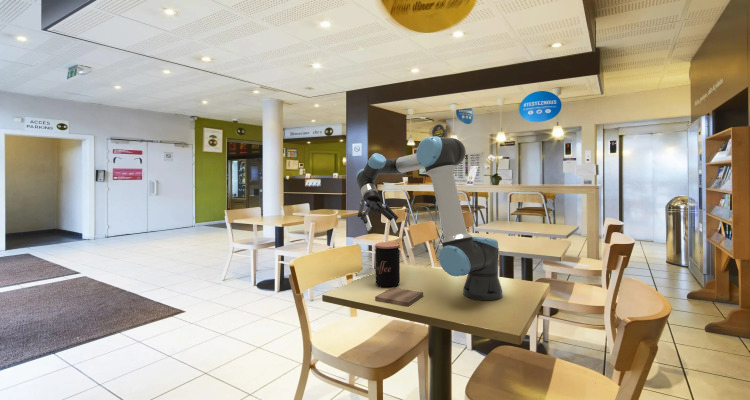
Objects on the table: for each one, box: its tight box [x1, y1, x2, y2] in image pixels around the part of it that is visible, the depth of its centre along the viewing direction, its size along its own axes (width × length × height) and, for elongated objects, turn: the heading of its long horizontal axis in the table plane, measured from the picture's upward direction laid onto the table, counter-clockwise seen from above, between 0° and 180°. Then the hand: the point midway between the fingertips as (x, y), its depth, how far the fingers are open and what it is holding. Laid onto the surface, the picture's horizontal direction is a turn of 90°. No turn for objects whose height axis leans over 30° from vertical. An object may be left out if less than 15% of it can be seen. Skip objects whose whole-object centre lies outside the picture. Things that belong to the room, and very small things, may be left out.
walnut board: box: [374, 287, 424, 307], centre depth 150 cm, size 14×14×2 cm
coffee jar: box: [374, 241, 401, 289], centre depth 168 cm, size 11×11×18 cm
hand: (383, 230), depth 167 cm, fingers open, 13 cm apart
